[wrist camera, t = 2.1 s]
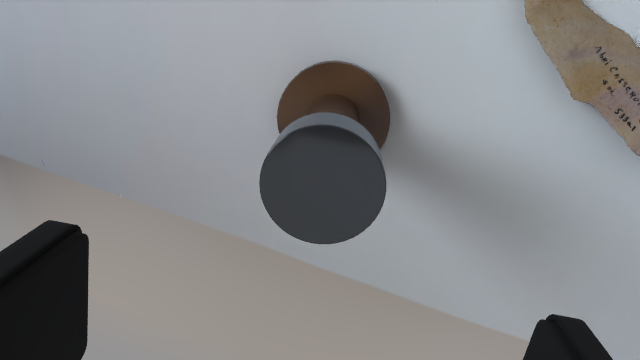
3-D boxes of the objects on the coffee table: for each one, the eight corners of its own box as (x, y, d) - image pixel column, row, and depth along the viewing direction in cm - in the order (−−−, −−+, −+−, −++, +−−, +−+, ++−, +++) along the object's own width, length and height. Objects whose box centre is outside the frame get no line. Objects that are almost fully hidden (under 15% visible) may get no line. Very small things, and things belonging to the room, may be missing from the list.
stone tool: (486, 23, 28) (653, 187, 30) (498, 17, 26) (674, 190, 29) (544, -46, 28) (707, 124, 30) (560, -55, 26) (730, 124, 29)
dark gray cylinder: (246, 153, 20) (233, 170, 18) (340, 88, 19) (338, 98, 17) (312, 239, 22) (307, 265, 19) (404, 182, 20) (410, 203, 18)
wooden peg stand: (257, 102, 31) (210, 147, 20) (348, 37, 29) (347, 49, 19) (320, 188, 32) (306, 269, 22) (409, 130, 31) (440, 189, 20)
